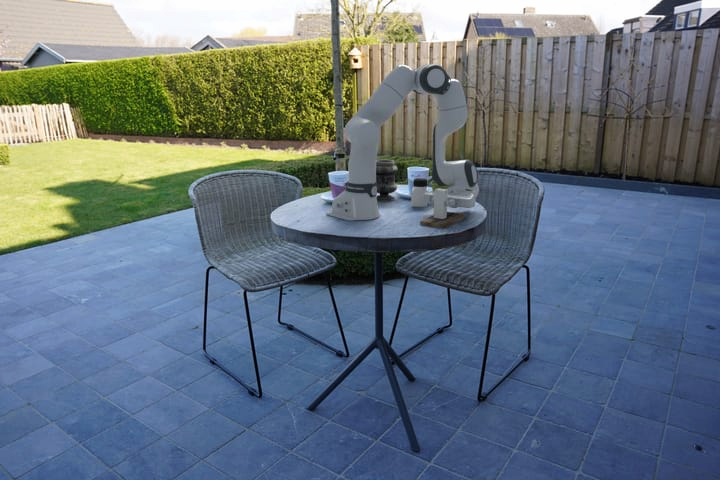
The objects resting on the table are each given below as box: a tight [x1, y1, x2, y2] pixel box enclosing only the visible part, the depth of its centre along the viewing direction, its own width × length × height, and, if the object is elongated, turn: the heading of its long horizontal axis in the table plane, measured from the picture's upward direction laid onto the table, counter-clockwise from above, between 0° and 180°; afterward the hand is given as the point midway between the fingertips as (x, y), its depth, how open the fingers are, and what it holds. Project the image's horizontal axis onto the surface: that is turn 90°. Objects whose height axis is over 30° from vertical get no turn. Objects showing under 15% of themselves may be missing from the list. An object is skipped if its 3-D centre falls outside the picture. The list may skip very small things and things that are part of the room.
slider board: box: [419, 211, 466, 230], centre depth 195 cm, size 10×19×2 cm, turn 145°
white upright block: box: [433, 188, 448, 219], centre depth 190 cm, size 4×3×11 cm
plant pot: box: [430, 180, 451, 191], centre depth 227 cm, size 9×9×9 cm
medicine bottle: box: [410, 177, 429, 208], centre depth 220 cm, size 7×7×12 cm
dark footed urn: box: [376, 159, 398, 202], centre depth 231 cm, size 12×12×18 cm
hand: (439, 203), depth 190 cm, fingers closed on white upright block, 4 cm apart
